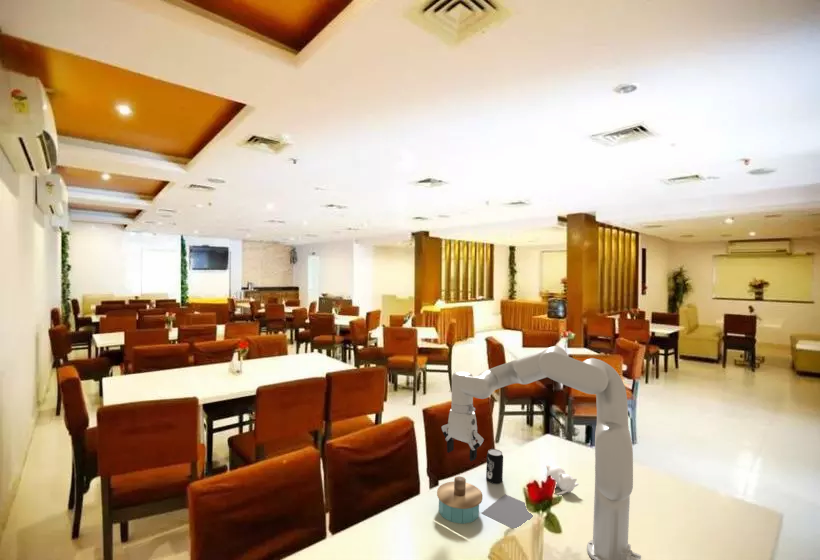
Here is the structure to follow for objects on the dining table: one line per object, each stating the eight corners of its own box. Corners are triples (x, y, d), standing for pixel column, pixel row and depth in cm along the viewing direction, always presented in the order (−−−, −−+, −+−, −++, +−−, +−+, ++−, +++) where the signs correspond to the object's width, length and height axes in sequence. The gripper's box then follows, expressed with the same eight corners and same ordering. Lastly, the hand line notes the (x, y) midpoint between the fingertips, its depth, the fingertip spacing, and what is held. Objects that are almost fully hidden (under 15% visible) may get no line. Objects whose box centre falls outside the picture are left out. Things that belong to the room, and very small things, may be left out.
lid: (491, 495, 143) (491, 479, 143) (465, 514, 131) (466, 497, 131) (454, 478, 153) (454, 464, 153) (427, 495, 142) (428, 479, 141)
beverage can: (502, 486, 161) (503, 456, 160) (486, 484, 162) (486, 454, 162) (502, 478, 167) (503, 449, 167) (486, 476, 168) (487, 447, 168)
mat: (547, 514, 142) (547, 512, 142) (526, 536, 130) (526, 535, 130) (505, 495, 154) (505, 494, 154) (481, 514, 141) (481, 513, 141)
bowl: (486, 511, 143) (486, 495, 143) (463, 530, 132) (464, 512, 132) (454, 496, 152) (454, 480, 152) (431, 512, 142) (431, 495, 142)
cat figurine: (575, 471, 155) (551, 457, 165) (558, 491, 151) (534, 475, 162) (582, 487, 157) (558, 472, 168) (565, 507, 153) (542, 490, 164)
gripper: (488, 410, 138) (488, 459, 139) (448, 399, 150) (448, 445, 150) (477, 416, 133) (476, 467, 133) (436, 404, 145) (435, 451, 145)
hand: (461, 455), depth 142 cm, fingers open, 9 cm apart
